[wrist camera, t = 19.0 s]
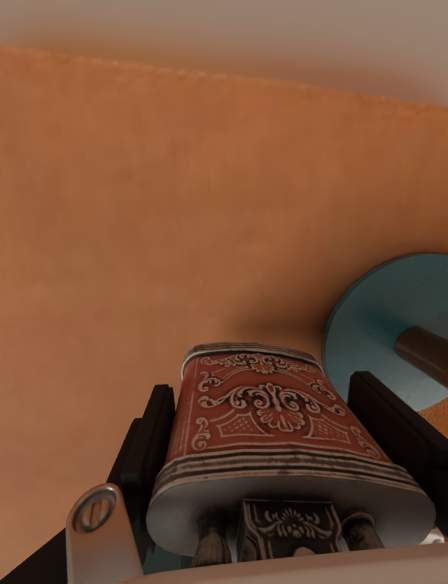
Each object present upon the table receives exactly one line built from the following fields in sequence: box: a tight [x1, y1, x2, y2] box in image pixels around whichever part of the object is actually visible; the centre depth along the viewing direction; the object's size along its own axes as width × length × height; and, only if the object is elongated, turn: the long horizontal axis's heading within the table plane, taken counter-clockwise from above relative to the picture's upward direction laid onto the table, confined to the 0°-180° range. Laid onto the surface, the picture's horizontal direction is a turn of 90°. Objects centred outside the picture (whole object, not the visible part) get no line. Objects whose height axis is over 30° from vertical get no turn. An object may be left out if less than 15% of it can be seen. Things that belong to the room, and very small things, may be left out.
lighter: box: [146, 342, 436, 568], centre depth 9 cm, size 8×3×10 cm, turn 84°
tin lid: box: [321, 253, 448, 412], centre depth 14 cm, size 13×13×6 cm
